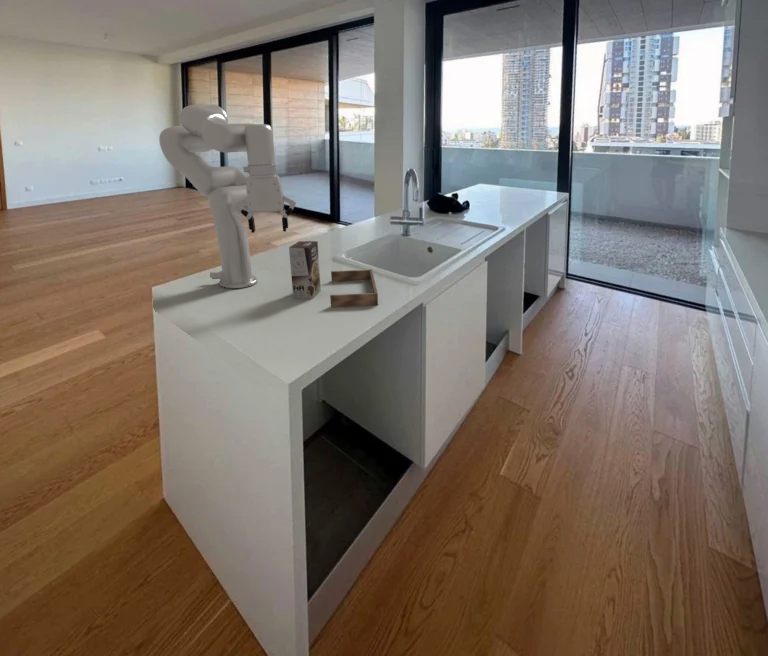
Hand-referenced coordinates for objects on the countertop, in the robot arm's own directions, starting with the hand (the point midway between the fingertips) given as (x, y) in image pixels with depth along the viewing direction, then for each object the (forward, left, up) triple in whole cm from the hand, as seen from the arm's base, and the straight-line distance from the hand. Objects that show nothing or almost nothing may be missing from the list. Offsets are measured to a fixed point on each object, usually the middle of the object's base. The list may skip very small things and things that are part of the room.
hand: (269, 231), depth 149 cm
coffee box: (+10, 0, -21) cm, 23 cm away
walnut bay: (+24, 0, -20) cm, 31 cm away
